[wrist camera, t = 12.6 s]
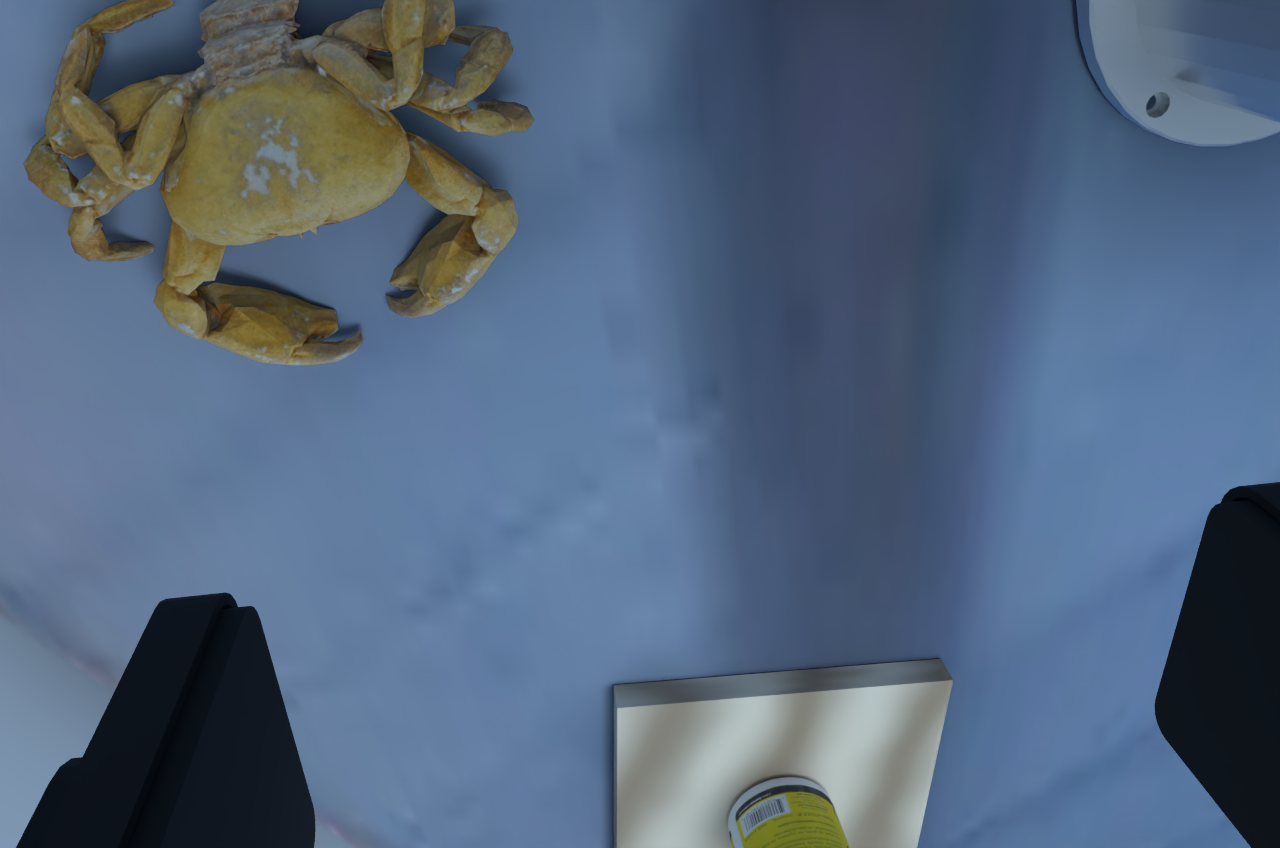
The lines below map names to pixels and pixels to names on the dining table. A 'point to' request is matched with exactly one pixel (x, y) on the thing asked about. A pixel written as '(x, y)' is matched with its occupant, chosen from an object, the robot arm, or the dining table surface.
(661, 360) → the dining table surface
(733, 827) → the supplement bottle
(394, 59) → the crab model
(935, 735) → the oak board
